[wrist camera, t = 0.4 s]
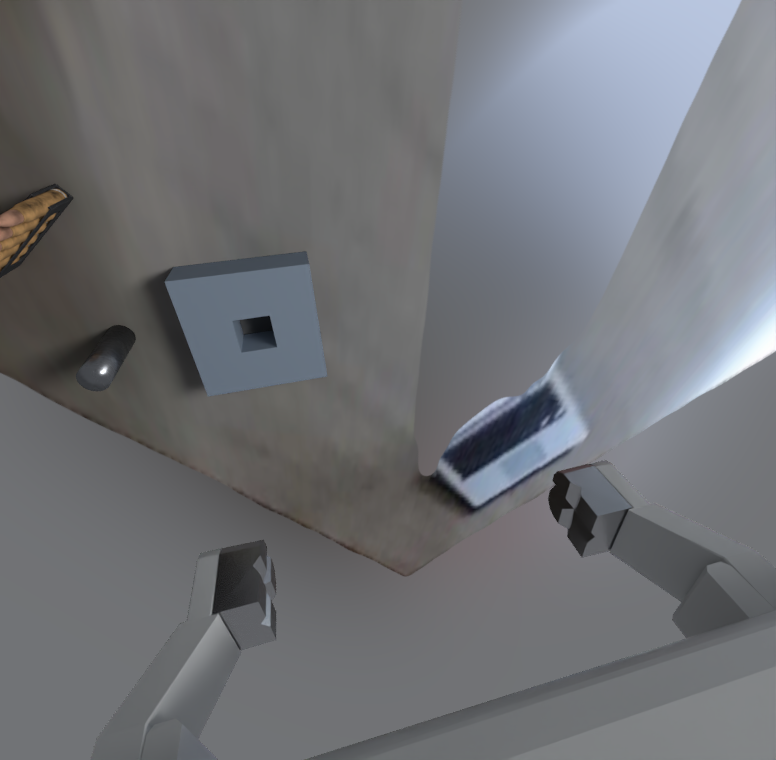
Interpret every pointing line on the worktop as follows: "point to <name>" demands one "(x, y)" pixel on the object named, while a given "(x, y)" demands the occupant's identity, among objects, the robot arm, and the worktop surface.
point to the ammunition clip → (29, 224)
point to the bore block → (243, 301)
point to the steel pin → (106, 359)
